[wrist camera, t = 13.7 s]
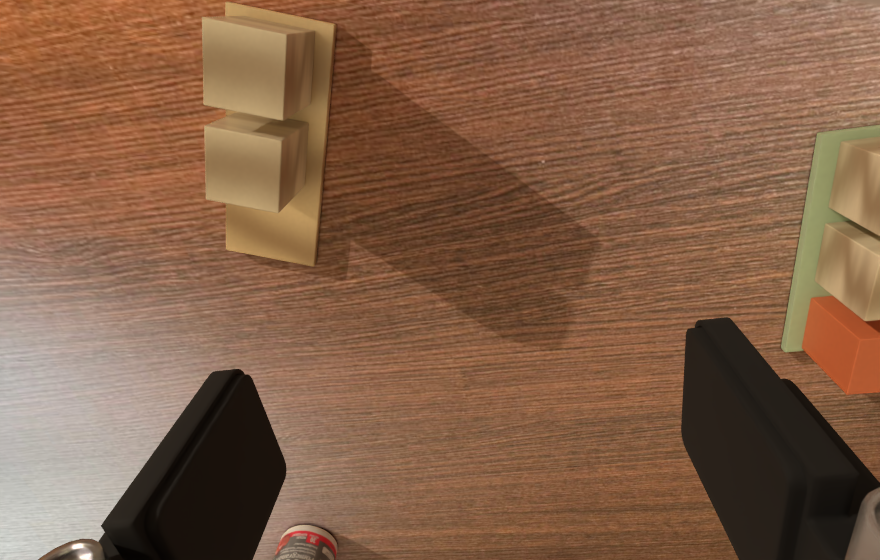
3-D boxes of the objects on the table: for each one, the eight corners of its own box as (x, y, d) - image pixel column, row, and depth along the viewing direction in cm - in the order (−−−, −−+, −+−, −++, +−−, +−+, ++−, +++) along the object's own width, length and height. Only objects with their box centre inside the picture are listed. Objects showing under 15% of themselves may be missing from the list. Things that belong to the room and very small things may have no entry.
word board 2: (816, 132, 31) (883, 156, 26) (930, 117, 30) (1022, 139, 25) (780, 347, 37) (827, 400, 32) (873, 339, 36) (935, 392, 32)
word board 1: (229, 1, 29) (179, 0, 24) (337, 24, 29) (309, 27, 24) (229, 246, 36) (190, 284, 31) (316, 263, 36) (291, 303, 31)
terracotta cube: (810, 297, 35) (860, 339, 30) (876, 291, 34) (936, 333, 30) (800, 347, 36) (846, 395, 32) (864, 342, 36) (918, 389, 31)
